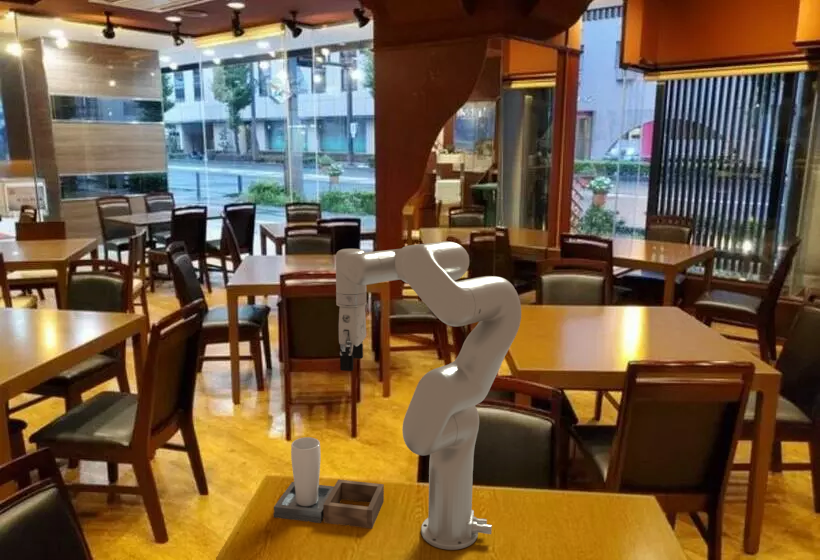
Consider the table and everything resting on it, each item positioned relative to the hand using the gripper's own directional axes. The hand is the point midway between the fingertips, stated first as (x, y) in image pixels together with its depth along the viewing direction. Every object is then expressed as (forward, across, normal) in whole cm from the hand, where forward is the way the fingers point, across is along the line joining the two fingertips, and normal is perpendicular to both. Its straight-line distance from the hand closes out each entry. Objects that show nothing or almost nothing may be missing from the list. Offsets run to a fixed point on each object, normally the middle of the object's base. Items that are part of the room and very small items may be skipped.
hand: (351, 364), depth 157 cm
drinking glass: (+30, -17, +7) cm, 35 cm away
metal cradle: (+30, -17, +7) cm, 36 cm away
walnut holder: (+30, -17, -5) cm, 35 cm away
